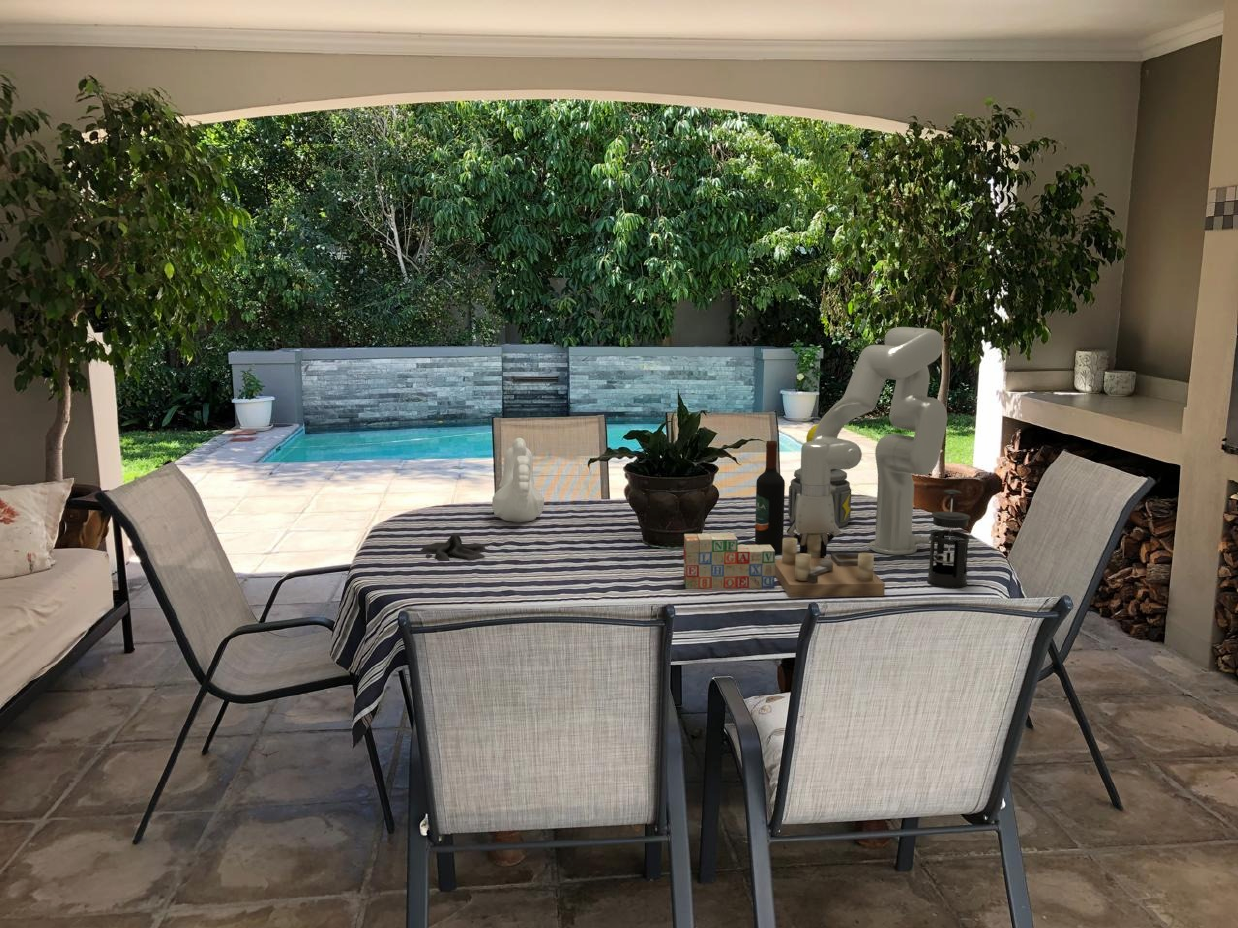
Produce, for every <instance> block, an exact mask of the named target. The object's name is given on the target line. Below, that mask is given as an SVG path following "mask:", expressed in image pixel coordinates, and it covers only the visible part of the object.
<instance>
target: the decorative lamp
mask: <svg viewBox="0 0 1238 928" xmlns="http://www.w3.org/2000/svg"><path fill="white" fill-rule="evenodd" d="M818 424H819V423H818ZM818 424H815V425H813V426H812V427H811V428H810V429H809V430H808V431H807V433H806V434H807V435H806V438H805V439H806V442H810V441H812V439H813V437H814V434H815V431H816V429H817V426H818ZM793 477H794V478H793V479H791V480H790V485H789V487H788V504H787V506H788V507H787V508H788V509H787V514H788V517H789V522H791V524H792V523H793V515H794V506H795V500H796V496H797V494H800V477H801V467H800V468H798V469H796V470H795V471H794V473H793ZM847 478H848V473H847V471H844V470H843V469H831V472H830V484H831V485H835V486H836V489H835V490H833V491H831V493H830V494H831V495H832V498H833V504H834V518H835V523H836V525H837V526H838V528H839V529H840V528H844V527H845V526H847V525H848V524H849V521H850V519H851V514H852V513H851V511H852V507H851V506H852V489H851V484H850V481H848V480H847Z"/></svg>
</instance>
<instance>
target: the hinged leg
mask: <svg viewBox="0 0 1238 928" xmlns="http://www.w3.org/2000/svg"><path fill="white" fill-rule="evenodd" d="M832 570H833V561H831V560H820V566H818V567H816V568H813V569H811V555H809V554H804V553H800V552H799V553H797V554H796V556H795V579H796V580H801V581H806V580H808V574H810V573H815V574H818V575H819V574H822V573H824V572H827V571H832Z"/></svg>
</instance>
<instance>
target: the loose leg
mask: <svg viewBox="0 0 1238 928" xmlns="http://www.w3.org/2000/svg"><path fill="white" fill-rule="evenodd" d="M805 543H806V545H807V554H809V555H811V558H821V534H807V537H806V542H805Z"/></svg>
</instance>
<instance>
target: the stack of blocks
mask: <svg viewBox="0 0 1238 928" xmlns="http://www.w3.org/2000/svg"><path fill="white" fill-rule="evenodd" d="M738 541H739V539H738V538H737V536H736V535H735V533H734V532H729V533H728V532H727V533H725V532H722V533H721V532H720V533H719V532H718V533H716V532H712V533H684V534H683V542H684V543H683V544H684V545H683V584H684V587H685V589H686V590H688V589H689V590H691V589H693V590H694V589H695V590H699V589H700V590H704V589H705V590H706V589H707V590H711V589H713V590H715V589H716V590H718V589H719V590H720V589H722V590H723V589H724V590H725V589H773V588H775V578H776V576H775V559H776V554H775V551H774V549H773V548H772V546H771V545H755V544H738V543H739V542H738Z"/></svg>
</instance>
